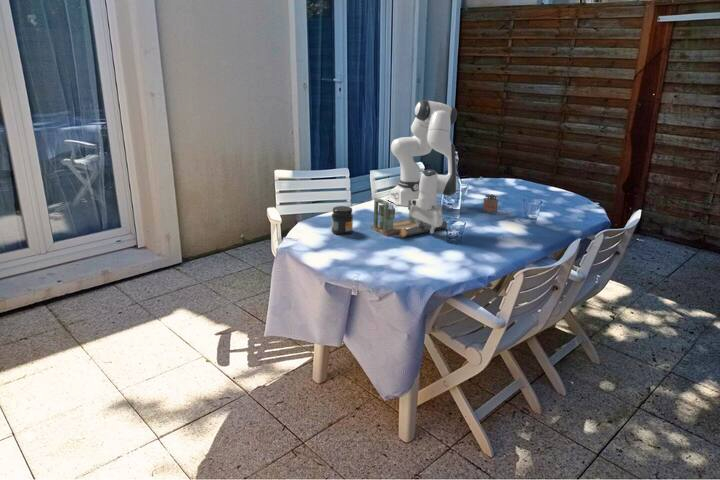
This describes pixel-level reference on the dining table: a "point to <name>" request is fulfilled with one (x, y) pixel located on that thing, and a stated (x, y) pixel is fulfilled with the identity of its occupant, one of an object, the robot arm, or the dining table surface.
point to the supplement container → (342, 220)
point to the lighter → (490, 204)
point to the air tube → (418, 229)
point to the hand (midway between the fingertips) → (425, 230)
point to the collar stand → (390, 219)
